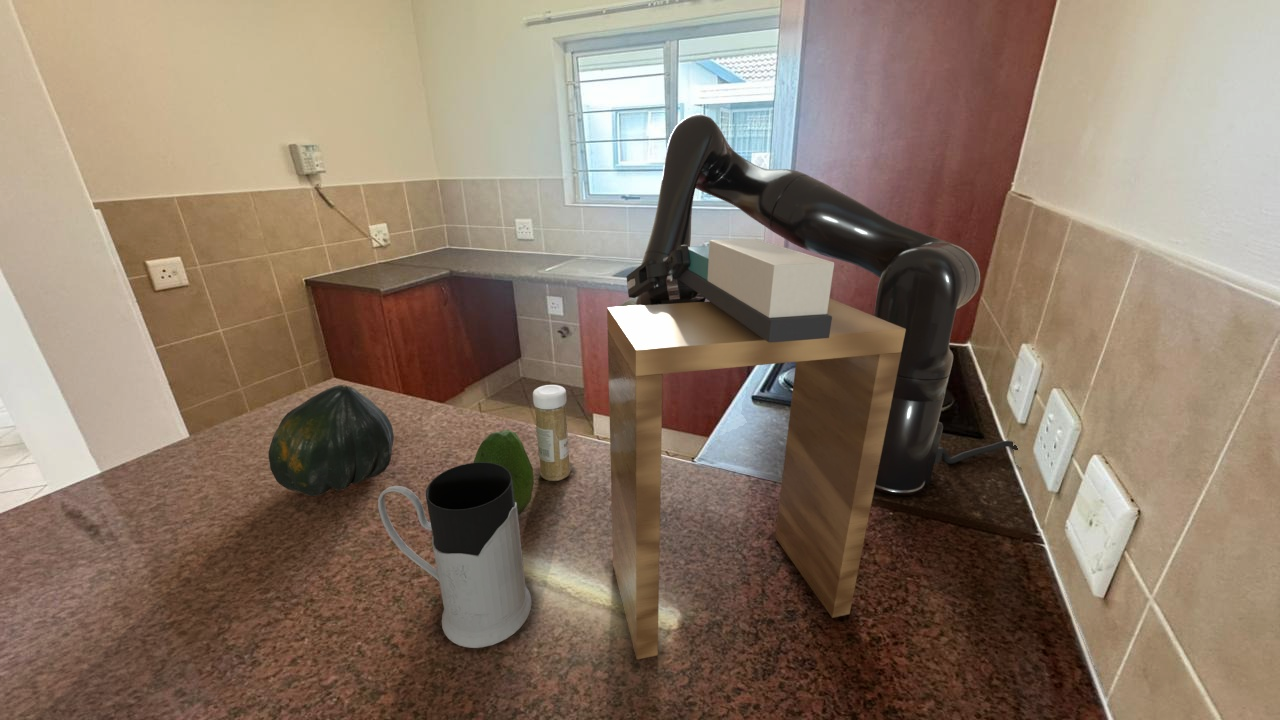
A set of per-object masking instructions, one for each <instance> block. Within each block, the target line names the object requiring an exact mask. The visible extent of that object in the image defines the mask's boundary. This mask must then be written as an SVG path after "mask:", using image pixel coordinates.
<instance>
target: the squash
mask: <svg viewBox="0 0 1280 720" xmlns="http://www.w3.org/2000/svg"><path fill="white" fill-rule="evenodd" d="M394 434H395V433H394V428H393V425H392V423H391V420H390V419H389V417H388V416H387V414H386V413H385V412H384V411H383V410H381V408H380V407H378V406H377V405H376V403H374V401H372V400H371V399H369V398H368V397H367V396H365V395H364V394H362V393H360V391H358V390H357V389H355V388H354V387H352V386H349V385H347V384H339V385H334V386H332V387H329V388H327V389H325V390H323V391H321V392H319V393H317V394H316V395H313V396H312V397H310V398H309V399H307V400H306V401H304V402H303V403H301V404H300V405H298V406H296V407H294V408H293V409H291V410H289V412H287V413H286V414H285V415H284V417H283V418H282V419H281V421H280V422H279V425H278V427H277V428H276V430H275V432H274V434H273V436H272V438H271V442H270V445H269V449H268V462H269V469H270V471H271V474H272V475H273V476H274V479H275V480H276V482H277V483H278V484H279V485H280V486H281V487H283V488H284V489H286V490H289V491H292V492H299V493H301V494H303V495H305V496H310V497H315V496H321V495H324V494H326V493H327V492H329V491H330V490H331V489H333V490H335V491H343V490H344V491H345V490H347V489H348V488H349V487H350V486H351V485H356V484H359V483H362V482H364V481H365V480H368V479H370V478H374V477H376V476H379V475H381V474H382V473H384V471H385V470H387V468H388V466H389V465H390V464H391V460H392V454H393V445H394V439H395V436H394Z"/></svg>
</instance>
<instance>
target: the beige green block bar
mask: <svg viewBox="0 0 1280 720" xmlns="http://www.w3.org/2000/svg"><path fill="white" fill-rule="evenodd" d="M708 243H709V244H708V245H701V246H700V245H699V246H697V245H696V246H690V247H688V249H689V257H690V266H689V267H688V269H686V270H685V272H684V273H683V274H682V275H681V276H680V277H677V279H679V280H680V281H682V282H683V283H684V284H686V285H687V286H689V287H690V288H692V289H693V290H694V291H696V292H697V293H699V294H700V295H702V296H703V297H704V298H706V299H705V300H707V301H708V302H709V301H710V302H712V303H713V304H714V305H716V306H717V307H719V308H720V309H722V310H723V311H724V312H726V313H727V314H729V315H730V316H732V317H733V318H734V319H736V320H737V321H739V322H740V323H742V324H743V325H745V326H746V327H747V328H749V329H750V330H752V331H753V332H755V333H756V334H757V335H759V336H760V337H762V338H763V339H765V340H766V341H767V342H769V343H771V342H784V341H797V340H810V339H823V338H829V335H830V328H831V322H832V316H830V315H828V314H827V311H828V304H829V298H831V297H830V296H831V290H832V284H833V283H832V282H833V276H834V269H835V262H834V261H830V260H828V259H824V258H821V257H817V256H815V255H811V254H807V253H805V252H801V251H798V250H795V249H792V248H788V247H785V246H781V245H779V244H775V243H772V242H769V241H765V240H761V239H758V238H733V239H731V238H729V239H710V240H709V242H708Z"/></svg>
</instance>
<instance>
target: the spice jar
mask: <svg viewBox="0 0 1280 720" xmlns="http://www.w3.org/2000/svg"><path fill="white" fill-rule="evenodd" d="M532 391H533V392H532V403H533V406H534V412H535V429H536V441H537V450H538V457H539V466H540V469H539V475H540V477H541V478H542V479H544V480H546V481H550V482H557V481H561V480H564V479H566V478H567V477H568V476H570V474H571V470H572V469H571V466H570V446H569V435H568V434H569V433H568V422H567V408H566V405H567V400H568V399H567V390H566V388H565V387H563V386H562V385H559V384H545V385H541V386H539V387H536V388H535V389H534V390H532Z"/></svg>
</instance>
